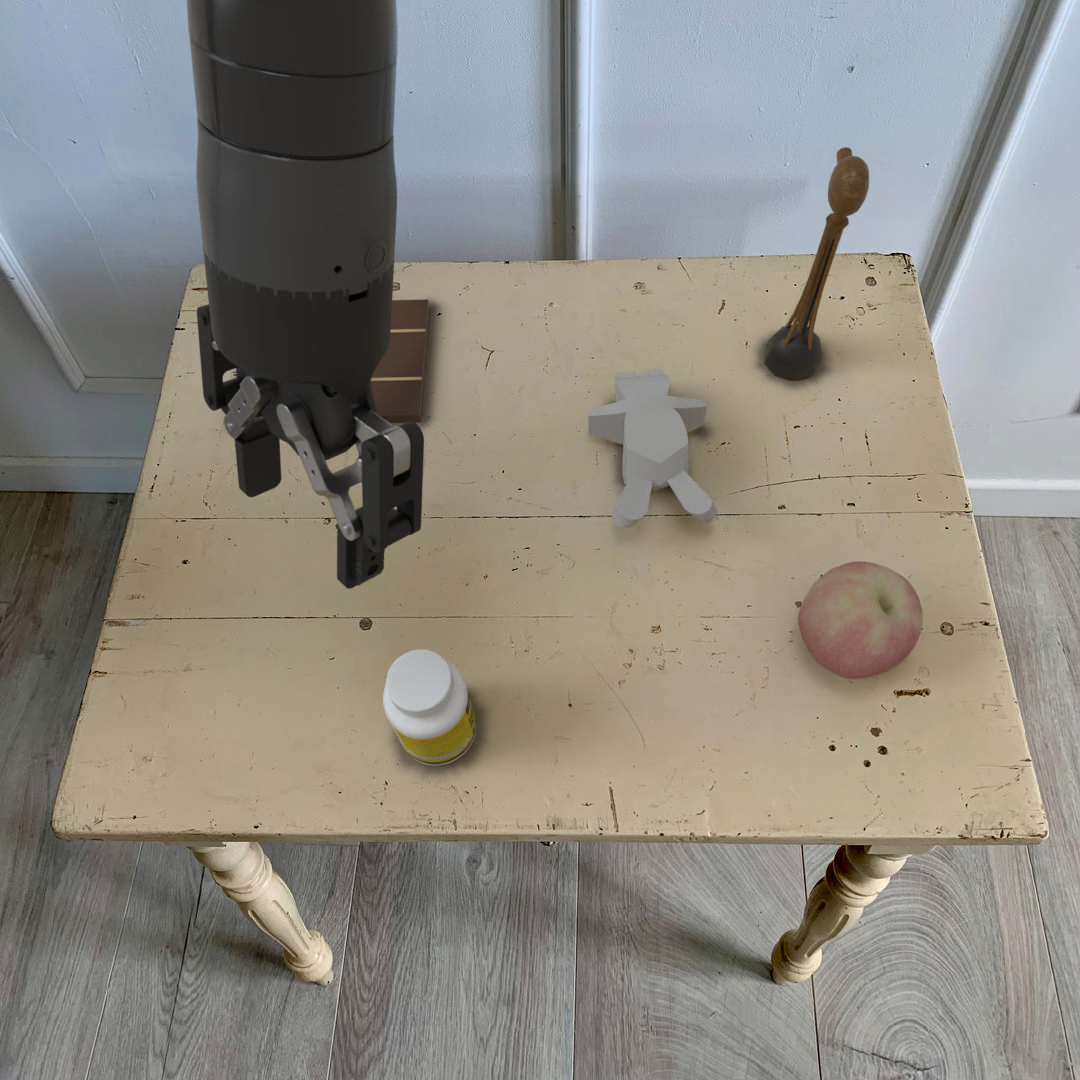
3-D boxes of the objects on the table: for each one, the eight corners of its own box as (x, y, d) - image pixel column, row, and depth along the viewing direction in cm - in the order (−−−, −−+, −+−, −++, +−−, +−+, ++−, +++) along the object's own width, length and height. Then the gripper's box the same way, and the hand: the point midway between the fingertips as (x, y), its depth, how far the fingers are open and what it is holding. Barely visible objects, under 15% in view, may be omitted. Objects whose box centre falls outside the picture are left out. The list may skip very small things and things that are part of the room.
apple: (871, 715, 61) (909, 675, 54) (770, 660, 64) (795, 615, 57) (913, 626, 65) (955, 577, 58) (816, 576, 67) (845, 523, 60)
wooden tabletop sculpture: (763, 327, 79) (819, 126, 61) (816, 330, 78) (888, 129, 61) (764, 379, 76) (823, 184, 58) (819, 382, 76) (895, 188, 58)
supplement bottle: (491, 742, 61) (478, 695, 53) (421, 781, 60) (396, 740, 52) (455, 678, 64) (438, 623, 55) (387, 714, 63) (358, 665, 54)
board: (233, 425, 75) (228, 417, 74) (256, 310, 81) (252, 301, 80) (420, 422, 75) (418, 413, 74) (429, 306, 81) (427, 297, 80)
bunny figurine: (697, 351, 72) (734, 494, 64) (691, 396, 77) (725, 536, 68) (582, 361, 72) (604, 505, 64) (582, 405, 76) (602, 546, 68)
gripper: (120, 188, 37) (169, 488, 47) (333, 346, 30) (333, 648, 41) (276, 160, 41) (288, 439, 52) (489, 292, 35) (452, 578, 46)
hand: (308, 532), depth 47 cm, fingers open, 8 cm apart
